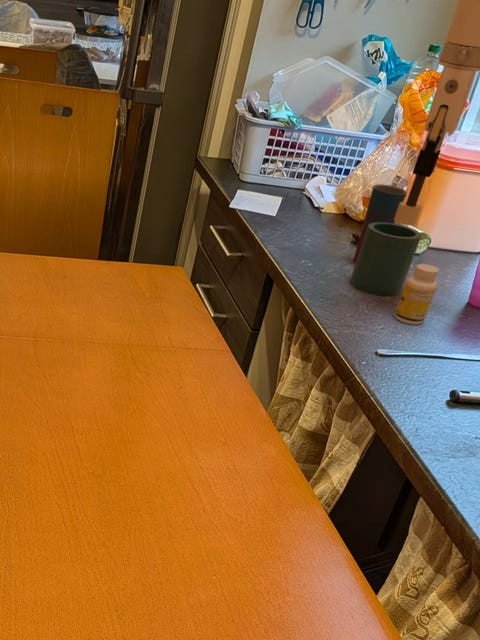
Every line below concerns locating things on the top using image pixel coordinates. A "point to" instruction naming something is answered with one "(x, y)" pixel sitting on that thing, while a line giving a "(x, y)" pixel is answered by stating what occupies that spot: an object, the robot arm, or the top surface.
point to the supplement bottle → (417, 295)
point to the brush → (410, 204)
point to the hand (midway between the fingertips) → (422, 173)
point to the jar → (385, 258)
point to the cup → (381, 208)
